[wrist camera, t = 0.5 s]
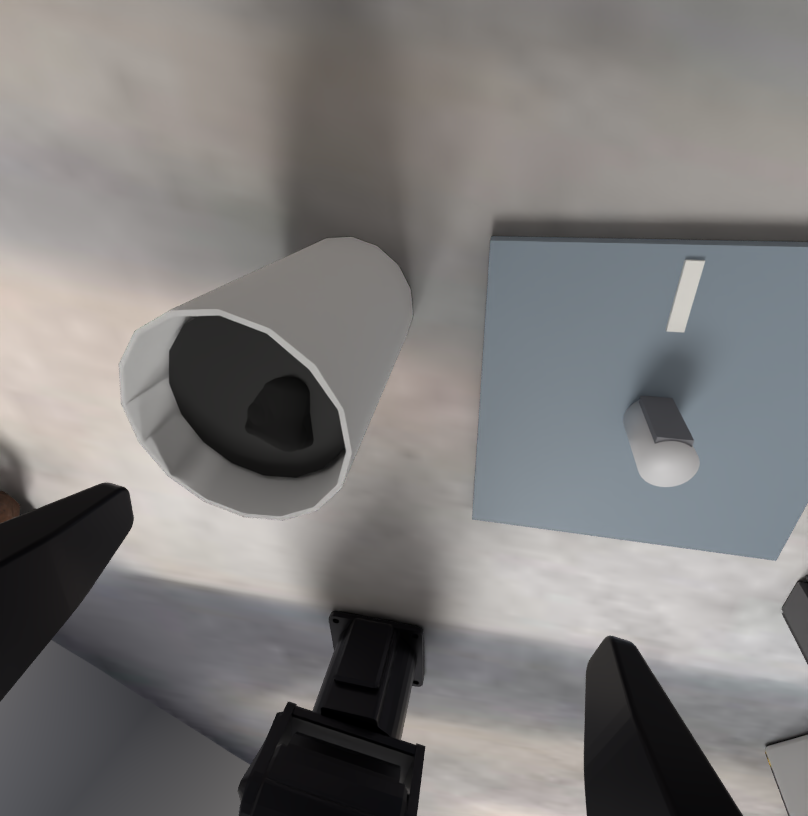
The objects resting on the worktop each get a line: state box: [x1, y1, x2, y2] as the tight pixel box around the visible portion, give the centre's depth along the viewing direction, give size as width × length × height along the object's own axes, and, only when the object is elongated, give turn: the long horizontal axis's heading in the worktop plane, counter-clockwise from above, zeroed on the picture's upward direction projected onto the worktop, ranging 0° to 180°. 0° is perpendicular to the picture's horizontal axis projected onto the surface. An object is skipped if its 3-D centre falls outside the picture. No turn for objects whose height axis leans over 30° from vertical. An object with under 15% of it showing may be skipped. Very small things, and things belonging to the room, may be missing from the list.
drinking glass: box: [119, 237, 413, 521], centre depth 17 cm, size 7×7×10 cm
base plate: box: [472, 236, 808, 561], centre depth 19 cm, size 14×14×4 cm
